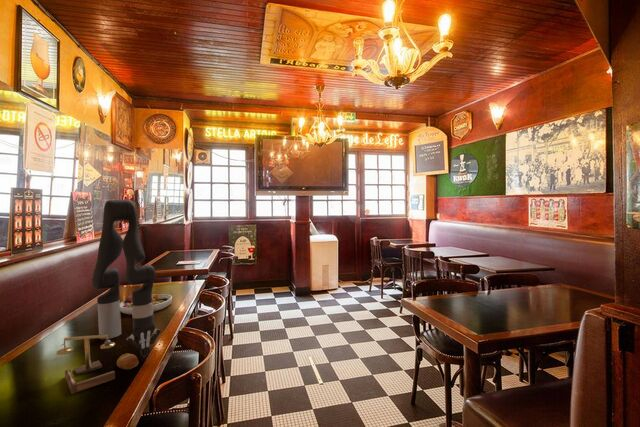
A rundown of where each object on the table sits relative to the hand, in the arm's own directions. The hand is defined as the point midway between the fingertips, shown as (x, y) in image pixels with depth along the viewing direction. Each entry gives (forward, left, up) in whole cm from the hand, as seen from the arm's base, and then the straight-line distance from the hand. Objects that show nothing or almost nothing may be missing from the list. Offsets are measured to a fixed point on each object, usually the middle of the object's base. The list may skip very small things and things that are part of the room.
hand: (145, 356), depth 131 cm
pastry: (0, -6, -2) cm, 6 cm away
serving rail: (0, -19, -1) cm, 19 cm away
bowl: (-78, +23, -2) cm, 82 cm away
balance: (-9, -18, -2) cm, 20 cm away
